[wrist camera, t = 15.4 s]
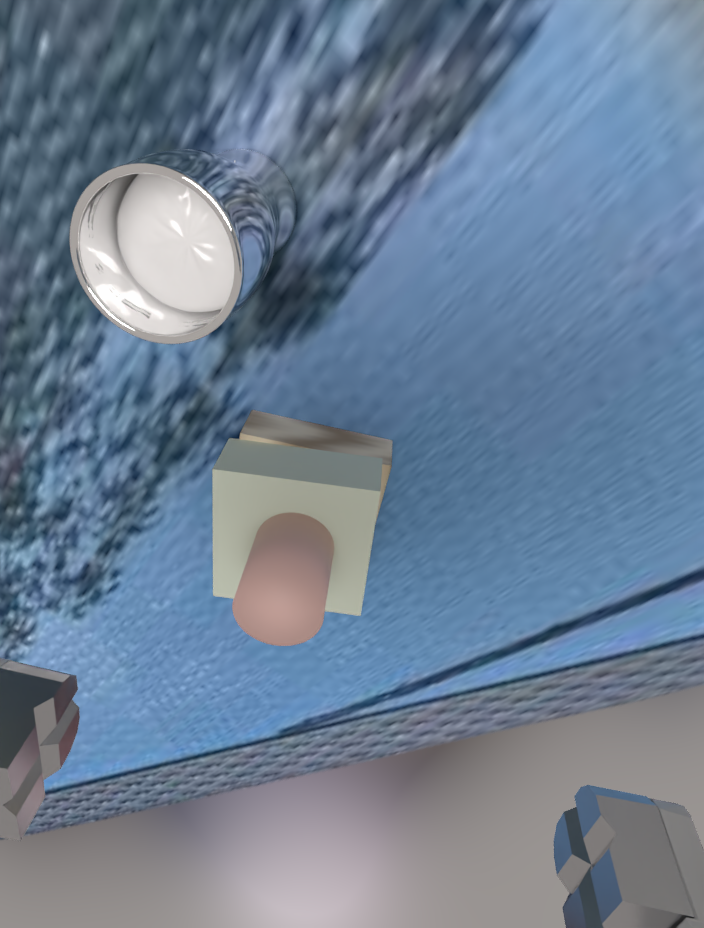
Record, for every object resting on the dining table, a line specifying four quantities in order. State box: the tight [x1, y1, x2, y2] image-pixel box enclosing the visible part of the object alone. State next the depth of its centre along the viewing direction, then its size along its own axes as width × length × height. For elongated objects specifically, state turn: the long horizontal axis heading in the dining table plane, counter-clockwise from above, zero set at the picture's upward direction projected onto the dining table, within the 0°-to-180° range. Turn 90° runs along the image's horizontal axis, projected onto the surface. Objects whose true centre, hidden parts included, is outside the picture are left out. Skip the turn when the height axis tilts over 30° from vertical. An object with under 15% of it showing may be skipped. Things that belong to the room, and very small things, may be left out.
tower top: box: [212, 438, 383, 616], centre depth 40 cm, size 10×10×4 cm
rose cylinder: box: [233, 513, 334, 646], centre depth 36 cm, size 5×5×6 cm
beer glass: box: [69, 149, 296, 344], centre depth 29 cm, size 7×7×15 cm
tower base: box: [239, 410, 392, 524], centre depth 44 cm, size 10×10×4 cm
